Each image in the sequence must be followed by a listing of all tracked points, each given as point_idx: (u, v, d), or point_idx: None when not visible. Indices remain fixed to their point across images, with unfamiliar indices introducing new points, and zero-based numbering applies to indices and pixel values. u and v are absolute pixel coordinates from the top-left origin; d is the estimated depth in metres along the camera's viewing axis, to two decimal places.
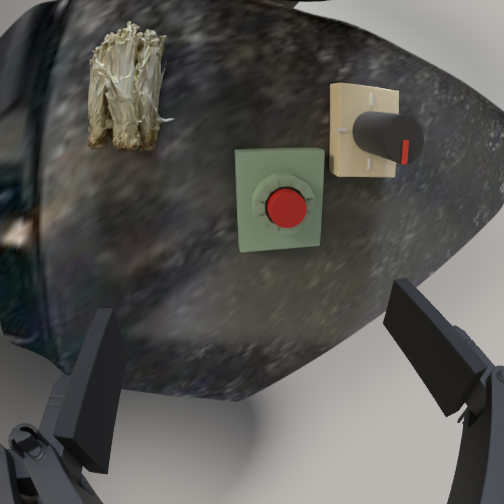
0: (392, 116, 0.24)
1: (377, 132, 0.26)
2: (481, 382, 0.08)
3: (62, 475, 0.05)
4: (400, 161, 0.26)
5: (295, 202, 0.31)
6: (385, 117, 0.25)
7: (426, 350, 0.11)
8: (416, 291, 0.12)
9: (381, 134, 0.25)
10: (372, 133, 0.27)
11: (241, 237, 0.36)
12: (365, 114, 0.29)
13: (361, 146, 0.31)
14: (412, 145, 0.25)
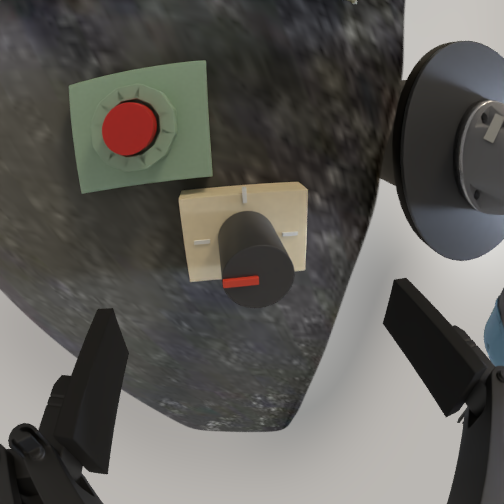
0: (288, 255, 0.21)
1: (260, 237, 0.21)
2: (481, 382, 0.08)
3: (62, 475, 0.05)
4: (225, 276, 0.20)
5: (138, 136, 0.20)
6: (282, 246, 0.21)
7: (426, 349, 0.11)
8: (416, 291, 0.12)
9: (259, 241, 0.20)
10: (254, 231, 0.22)
11: (88, 82, 0.19)
12: (271, 225, 0.25)
13: (226, 224, 0.25)
14: (251, 291, 0.21)
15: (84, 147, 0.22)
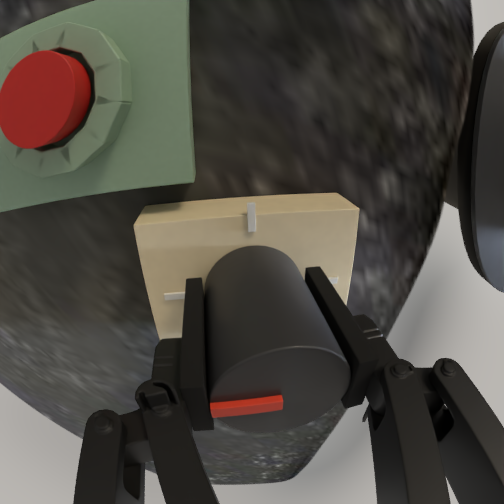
0: (342, 352, 0.10)
1: (288, 319, 0.10)
2: (375, 375, 0.09)
3: (186, 436, 0.07)
4: (216, 398, 0.09)
5: (50, 111, 0.08)
6: (330, 332, 0.10)
7: None
8: (325, 279, 0.14)
9: (288, 334, 0.09)
10: (274, 301, 0.10)
11: (5, 38, 0.08)
12: (299, 272, 0.14)
13: (218, 272, 0.14)
14: (267, 415, 0.10)
15: None
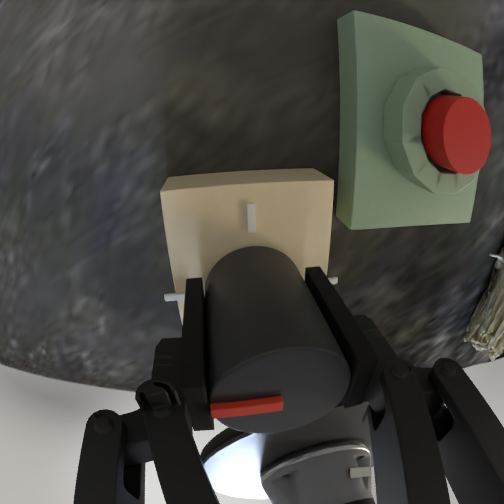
0: (342, 353, 0.10)
1: (288, 320, 0.10)
2: (375, 375, 0.09)
3: (186, 436, 0.07)
4: (216, 399, 0.09)
5: (459, 152, 0.11)
6: (330, 333, 0.10)
7: None
8: (325, 279, 0.14)
9: (288, 334, 0.09)
10: (274, 302, 0.10)
11: (481, 80, 0.13)
12: (299, 272, 0.14)
13: (218, 273, 0.14)
14: (267, 415, 0.10)
15: (418, 43, 0.11)
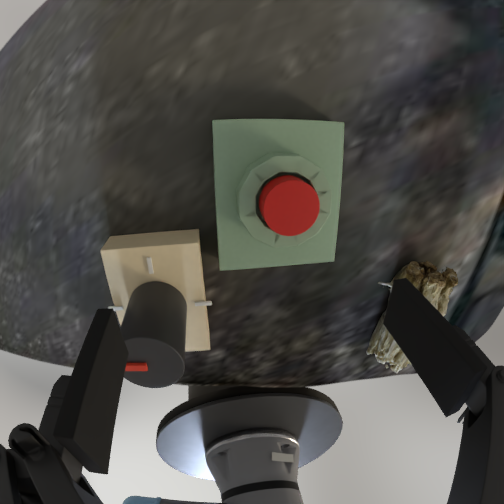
0: (175, 344, 0.19)
1: (147, 324, 0.19)
2: (481, 382, 0.08)
3: (62, 475, 0.05)
4: None
5: (281, 221, 0.21)
6: (172, 334, 0.19)
7: (426, 349, 0.11)
8: (416, 291, 0.12)
9: (143, 331, 0.18)
10: (146, 315, 0.19)
11: (341, 146, 0.22)
12: (178, 298, 0.23)
13: (132, 296, 0.23)
14: (143, 374, 0.19)
15: (269, 132, 0.21)
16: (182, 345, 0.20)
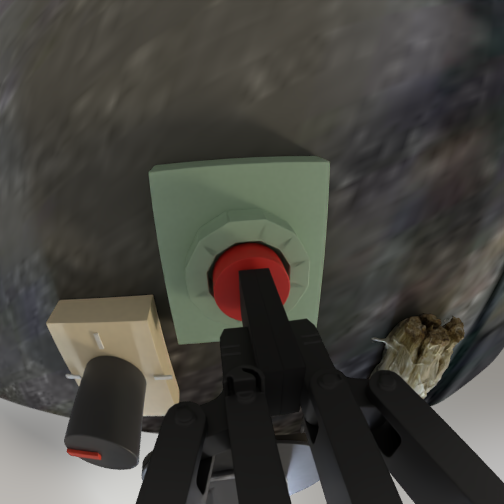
0: (124, 441, 0.14)
1: (93, 419, 0.14)
2: (304, 383, 0.09)
3: (267, 424, 0.07)
4: (68, 447, 0.13)
5: (239, 306, 0.16)
6: (121, 428, 0.15)
7: None
8: (270, 281, 0.14)
9: (88, 427, 0.13)
10: (92, 406, 0.15)
11: (325, 194, 0.17)
12: (132, 376, 0.19)
13: (84, 372, 0.18)
14: (99, 459, 0.14)
15: (225, 184, 0.16)
16: (134, 437, 0.15)
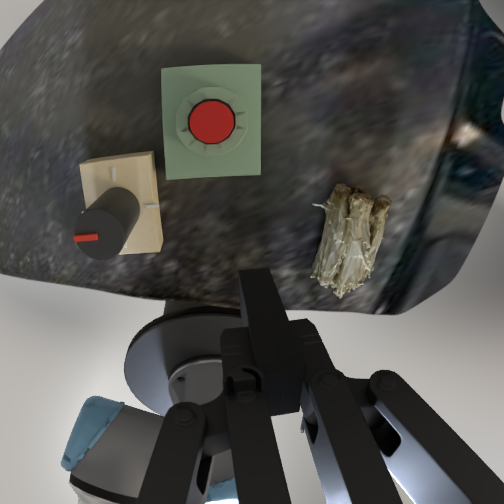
0: (118, 217, 0.24)
1: (101, 204, 0.24)
2: (304, 383, 0.09)
3: (267, 424, 0.07)
4: (76, 233, 0.24)
5: (203, 131, 0.26)
6: (118, 211, 0.25)
7: None
8: (270, 281, 0.14)
9: (97, 206, 0.24)
10: (102, 200, 0.25)
11: (259, 82, 0.27)
12: (131, 197, 0.29)
13: None
14: (95, 245, 0.25)
15: (201, 74, 0.26)
16: (125, 222, 0.25)
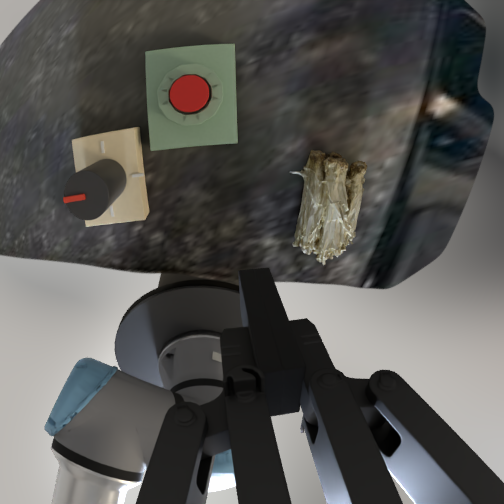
0: (104, 178, 0.26)
1: (89, 168, 0.25)
2: (304, 383, 0.09)
3: (267, 424, 0.07)
4: (65, 195, 0.25)
5: (182, 102, 0.27)
6: (104, 174, 0.26)
7: None
8: (270, 281, 0.14)
9: (85, 169, 0.25)
10: (90, 166, 0.26)
11: (233, 59, 0.28)
12: (118, 166, 0.30)
13: None
14: (82, 206, 0.26)
15: (181, 55, 0.27)
16: (110, 183, 0.27)
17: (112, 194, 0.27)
